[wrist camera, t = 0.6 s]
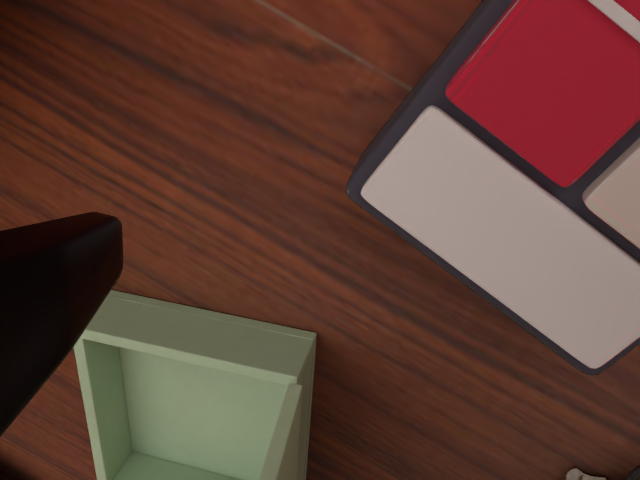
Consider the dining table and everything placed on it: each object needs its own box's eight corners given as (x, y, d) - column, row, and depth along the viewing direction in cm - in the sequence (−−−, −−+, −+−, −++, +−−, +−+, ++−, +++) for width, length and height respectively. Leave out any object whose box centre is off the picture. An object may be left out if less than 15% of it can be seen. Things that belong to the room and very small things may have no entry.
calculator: (1131, 6, 13) (596, 396, 20) (979, -5, 17) (575, 326, 24) (755, -334, 12) (334, 201, 19) (686, -264, 16) (356, 160, 23)
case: (129, 447, 35) (98, 492, 32) (108, 288, 29) (69, 326, 27) (305, 493, 33) (288, 545, 30) (317, 332, 27) (298, 377, 25)
